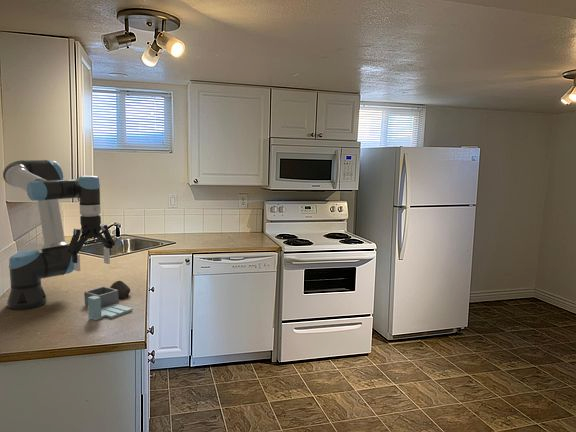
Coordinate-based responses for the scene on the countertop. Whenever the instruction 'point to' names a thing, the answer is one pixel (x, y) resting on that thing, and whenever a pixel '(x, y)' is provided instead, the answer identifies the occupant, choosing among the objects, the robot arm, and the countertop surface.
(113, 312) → the pale blue ridged block
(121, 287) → the stone
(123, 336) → the countertop surface
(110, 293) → the tub
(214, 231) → the countertop surface
